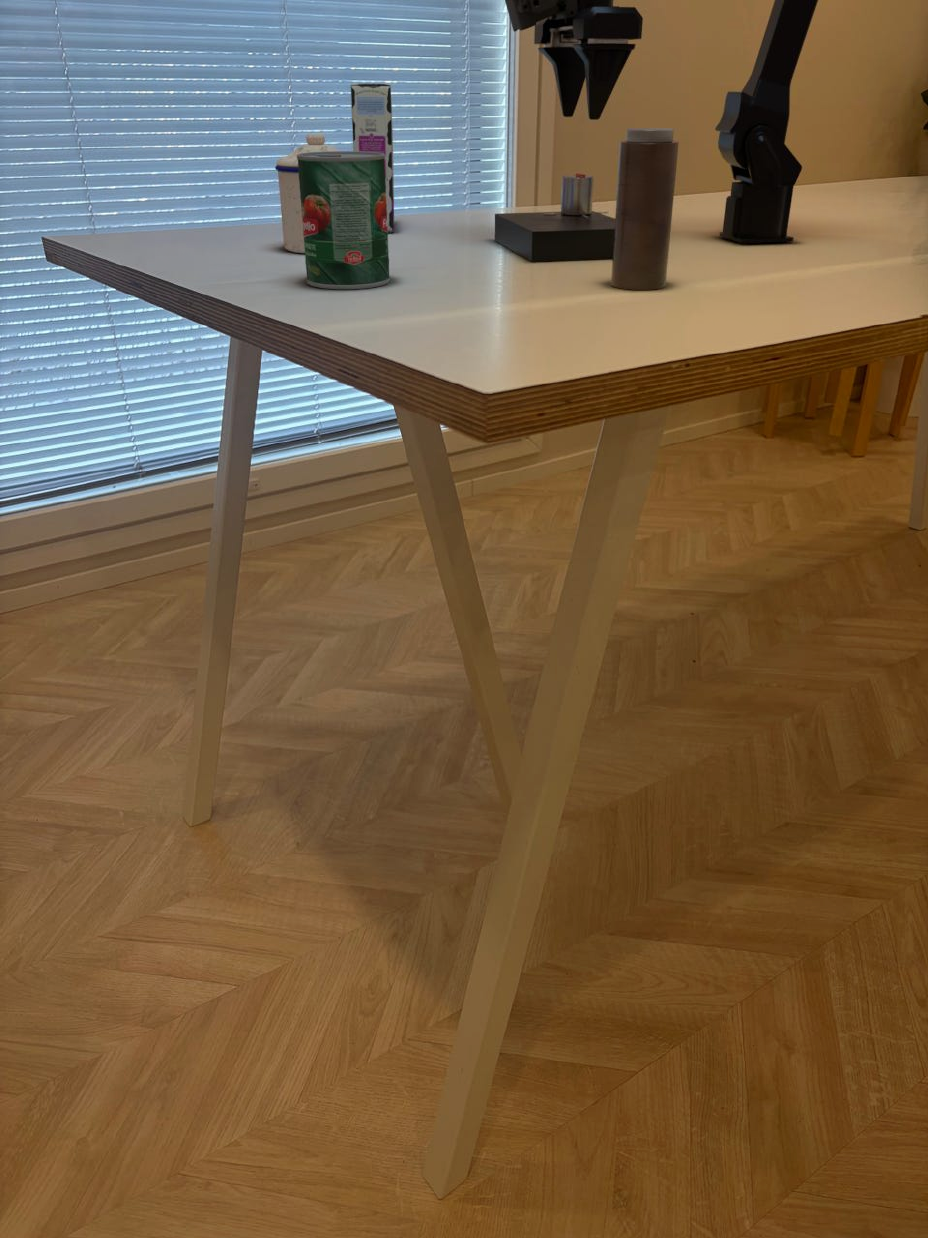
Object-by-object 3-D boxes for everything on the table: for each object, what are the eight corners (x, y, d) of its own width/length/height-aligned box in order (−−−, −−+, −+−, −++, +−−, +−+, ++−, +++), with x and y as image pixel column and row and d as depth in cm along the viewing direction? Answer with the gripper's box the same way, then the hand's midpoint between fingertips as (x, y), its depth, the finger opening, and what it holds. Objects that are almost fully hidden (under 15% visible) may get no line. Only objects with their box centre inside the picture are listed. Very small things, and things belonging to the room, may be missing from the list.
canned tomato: (407, 281, 94) (403, 153, 89) (341, 292, 89) (333, 157, 84) (354, 271, 99) (348, 149, 94) (289, 281, 94) (278, 153, 89)
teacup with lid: (357, 254, 108) (350, 136, 103) (274, 254, 109) (263, 136, 103) (371, 239, 119) (366, 130, 113) (296, 238, 119) (287, 130, 114)
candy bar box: (396, 233, 123) (391, 83, 115) (356, 233, 123) (348, 83, 115) (394, 221, 133) (389, 82, 125) (357, 222, 133) (350, 83, 125)
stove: (595, 235, 121) (597, 207, 119) (647, 257, 106) (650, 225, 105) (492, 239, 118) (492, 211, 117) (531, 261, 104) (532, 229, 102)
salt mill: (653, 279, 95) (666, 127, 88) (674, 288, 90) (689, 129, 84) (603, 281, 94) (612, 127, 87) (622, 291, 89) (633, 130, 83)
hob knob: (556, 212, 116) (558, 172, 114) (585, 211, 117) (587, 171, 115) (566, 215, 113) (567, 174, 111) (596, 214, 114) (598, 174, 112)
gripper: (491, -43, 109) (490, 115, 117) (539, -64, 93) (533, 121, 101) (588, -41, 111) (580, 115, 119) (650, -61, 95) (637, 120, 103)
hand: (580, 117), depth 110 cm, fingers open, 9 cm apart
